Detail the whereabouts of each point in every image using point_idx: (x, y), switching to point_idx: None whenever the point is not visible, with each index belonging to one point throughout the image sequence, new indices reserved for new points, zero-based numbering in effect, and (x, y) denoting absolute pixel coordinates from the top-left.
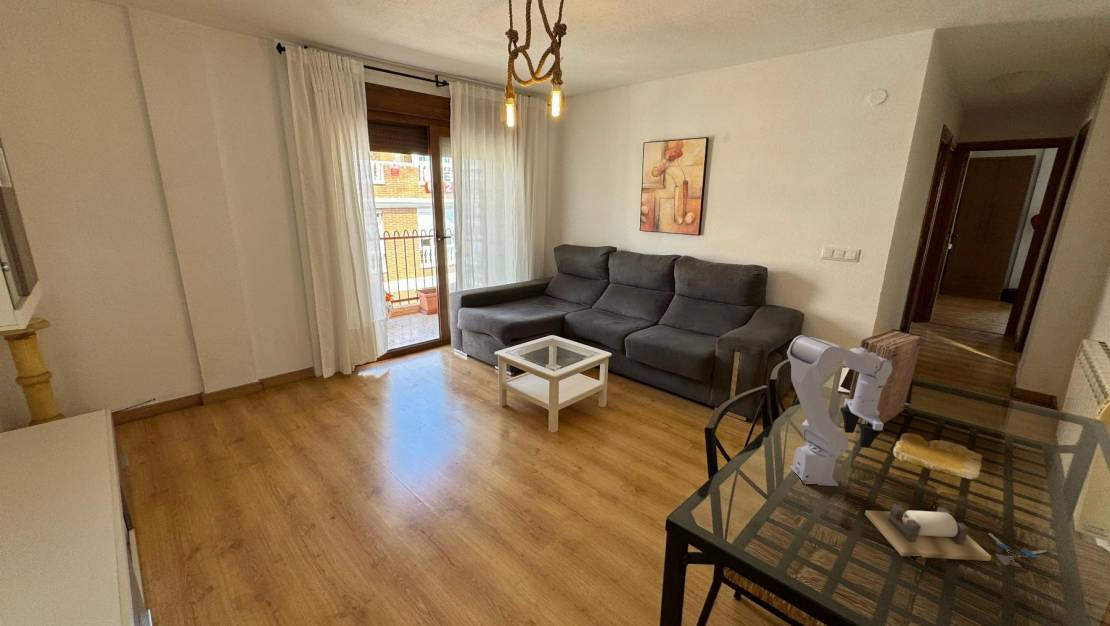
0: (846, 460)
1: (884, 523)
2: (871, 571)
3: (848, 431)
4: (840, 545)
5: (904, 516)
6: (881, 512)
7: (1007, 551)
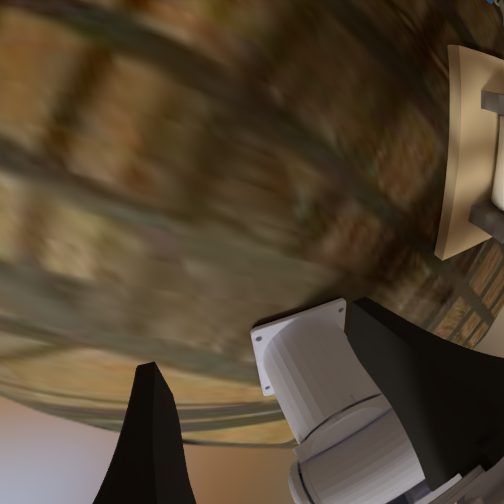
0: (140, 230)
1: (472, 234)
2: (497, 276)
3: (169, 394)
4: (466, 307)
5: (500, 208)
6: (452, 226)
7: (496, 3)
